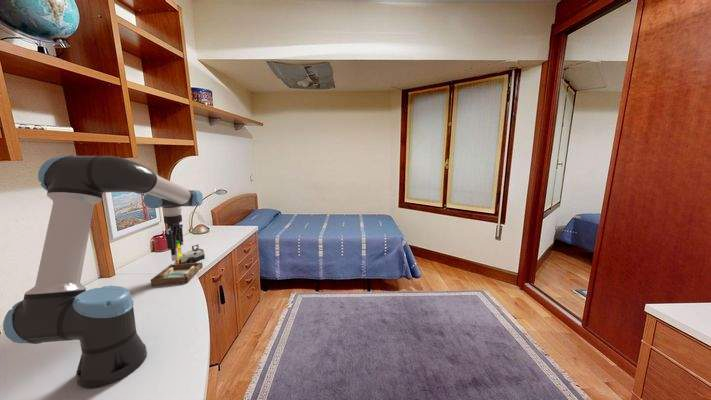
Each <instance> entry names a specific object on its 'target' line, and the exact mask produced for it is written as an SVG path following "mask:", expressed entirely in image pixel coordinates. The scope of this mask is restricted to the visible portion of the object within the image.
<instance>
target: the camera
mask: <svg viewBox="0 0 711 400" xmlns="http://www.w3.org/2000/svg"><path fill="white" fill-rule="evenodd" d="M195 247H196V248H195ZM182 255H183V256H182V258H181V259H180V260H179V261H178V262H179V264H186V263H199V262H200V260H201V261H203V260H205V259H206V257H205V256H206V255H205V250H204V249H203V248H200V247H199V244H198V243H197V244H195V245H191V250H189V251H186V252H182ZM202 259H203V260H202ZM175 262H176V261H174V263H175Z"/></svg>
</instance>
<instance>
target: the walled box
mask: <svg viewBox="0 0 711 400" xmlns="http://www.w3.org/2000/svg"><path fill="white" fill-rule="evenodd" d="M203 267H204V266H203V262H196V263H186V264H174V263H173V264H169V265H168V266H167V267H165V268H164V269H163V270H162V271H160V272H159V273H157V274H156V275H155V276H154V277H152V278H151V279H150V286H151V288H152V287H162V286H170V285H180V284H181V285H182V284H188V283H189V282H190V281H191V280H192V279H193V278H194V277H195V276H196V275H197V274H198V273H199V272H200V271H199V270H202V269H203Z"/></svg>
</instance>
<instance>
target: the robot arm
mask: <svg viewBox="0 0 711 400" xmlns="http://www.w3.org/2000/svg"><path fill="white" fill-rule="evenodd" d="M37 180H38V182H40V186H41V188H42V189H44V190H45V191H46V197H48V198H49V199H50V200H51V201H52V205H51V206H52V207H51V210H50V215H49V220H48V225H47V230H46V233H45V240H44V244H43V248H42V252H41V257H40V261H39V265H38V271H37V275H36V281H35V284H34V286H33V287H32V288H30V289H29V290H27V291H25V293H24V294H23V299H22V300H20V301H18V302H16V303H14V304H13V306H12V307H11V309H9V310H7V312H6V314H5V316H4V319H3V323H2V330H3V333H4V335H5V337H6V338H7V339H9V340H11V341H12V342H13V343H17V344H30V345H33V344H34V345H38V344H42V343H52V342H55V343H56V342H64V341H65V342H67V341H79V343H80V348H81V349H80V350H81V355H80V358H79V362H78V366H77V369H76V371H75V378H76V383H77V385H78V386H79V387H80V388H85V389H88V388H89V389H90V388H91V389H92V388H97V387H102V386H106V385H108V384H111V383H114V382H116V381H118V380H120V379H122V378H125V377H127V376H128V375H130V374H131V373H133V372H134V371H136V369H138V368H139V367H140V366H141V365H142V364H143V363H144V362H145V360H146V359H147V356H148V352H147V346H146V343H144V342H143V340H142V339H141V337H140V336H139V334H138V332H137V326H136V318H135V309H134V304H135V303H134V300H133V297H132V293H131V292H130V290H129V289H128V288H127V287H124V286H119V285H106V286H105V285H104V286H102V287H93V288H91V289H88V290H87V287H86V286H85V285H83V284H82V283H81V279H82V274H83V268H84V262H85V258H86V257H85V256H86V253H87V252H86V251H87V248H88V247H87V245H88V241H89V235H90V229H91V225H92V219H93V212H94V208H95V205H96V204H98V203H99V202H102V199H103V194H104V193H134V194H138V195H143V194H144V196H143V204H144V205H145V206H146V207H147V208H148V209H149V208H150V209H159V208H162V214H163V223H164V224H166V225H167V230H164V233H165V238H166V245H167V250H169V249H171V250H170V255H171V261H172V262H175V261H178V250H177V248H176V241H179V244H180V247H181V249H180V251H179V253H180V254H181V255H182V253H183V249H182V246H183V245H184V235H183V233H184V232H183V227H184V226H183V224H181V223H182V221H183V216H182V210H183V209H182V208H181V207H192V208H193V207H199V206H201V205H202V204H203V200H204V199H203V198H204V197H203V193H202V191H200V190H195V189H193V190H190V189H188V188H186V187H183V186H181V185H179V184H177V183H174V182H172V181H170V180H168V179H167V178H163V177H162V176H160V175H157V173H156V172H155V171H154V170H153V169H151V168H149V167H147V166H145V165H143V164H140V163H138V162H135V161H133V160H129V159H126V158H123V157H120V156H119V157H118V156H114V155H75V154H70V155H61V156H60V155H59V156H54V157H51V158H48V159H47V160H46V161H44V162H43V163H42V164H41V166H40V168H39V170H38V172H37Z"/></svg>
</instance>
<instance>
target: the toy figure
mask: <svg viewBox="0 0 711 400" xmlns="http://www.w3.org/2000/svg"><path fill="white" fill-rule="evenodd" d="M176 248H177V250H178V261H179V260H180V259H181V258H182V256H183V255H181V254H180V253H179V251H180V249H181V248H182V246H181V247H180V244H179V241H176ZM168 250H169V251H171V249H168ZM178 261H176V262H175V261H174V263H173V264H179V262H178Z"/></svg>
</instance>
